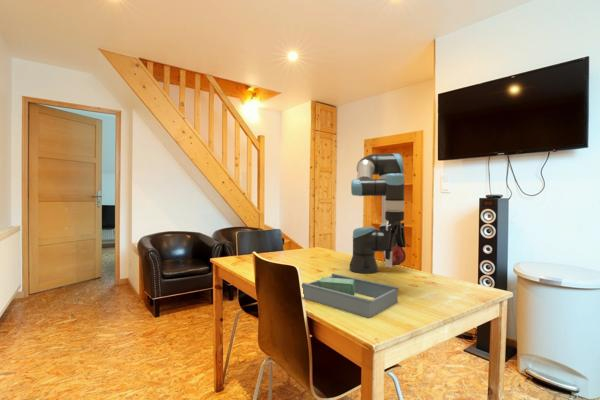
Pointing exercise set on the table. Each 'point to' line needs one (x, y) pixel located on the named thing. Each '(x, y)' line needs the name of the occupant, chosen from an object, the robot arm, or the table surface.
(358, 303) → the tray
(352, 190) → the robot arm
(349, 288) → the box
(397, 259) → the fruit
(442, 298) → the table surface
